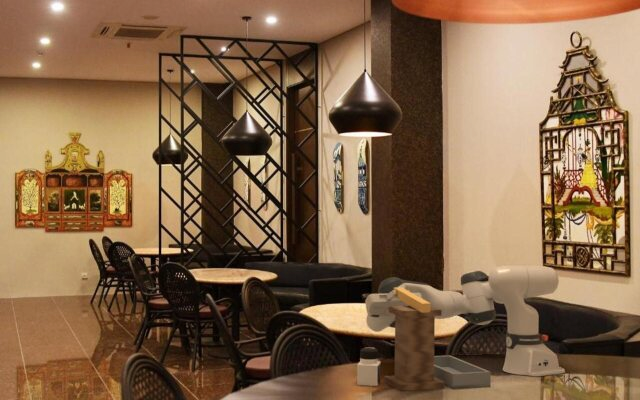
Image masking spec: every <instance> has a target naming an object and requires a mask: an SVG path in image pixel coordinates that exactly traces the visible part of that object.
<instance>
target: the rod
mask: <svg viewBox="0 0 640 400" xmlns="http://www.w3.org/2000/svg"><path fill="white" fill-rule="evenodd" d="M394 290H397V291H398V292H397V293H398V295H397V297H396V298H398V299H400V300H401V301H403V302H405V303H406V304H408V305H410V306H411V307H413V308H415V309H416V310H418V311H420V312H422V313H425V312H430V306H431V303H429V302H427V301H425V300H424V299H422V298H420V297H418V296H416V295H415V294H413V293H411V292H409V291H407V290H406V289H404V288H402V287H395V288H394Z"/></svg>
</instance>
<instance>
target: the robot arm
mask: <svg viewBox="0 0 640 400" xmlns="http://www.w3.org/2000/svg"><path fill="white" fill-rule="evenodd" d="M559 281H560V279H559V276H558V273H557V272H556V270H555V269H554V267H549V266H544V265H525V264H524V265H523V264H522V265H519V264H518V265H517V264H516V265H515V264H514V265H512V264H511V265H510V264H509V265H500V266H495V267H493V268H492V269H491V271H490V272H489V275H488V274H486V272H484V271H482V270H475V269H474V270H469V271H467V272H465V273H463V274H462V275H461V277H460V285H461V290H462V293H461V292H458V291H455V290H440V289H437V288H434V287H432V286H431V285H430V284H428V283H426V282H421V281H413V280H406V279H401V278H399V277H394V276H393V277H392V276H391V277H387V278H385V279H384V280H382V281H381V282H380V283H379V286H378V290H377V292H378V293H371V294H369V295H367V297H366V299H365V309H366V310H365V311H366V313H367V315H366V319H365V320H366V325H367V326H368V328H369V329H370V330H371V331H372V332H375V333H379V332H382V331H383V330H385V329H387V328H392V329H395V314H392V313H389V306H410V305H408V304H406V303H405V302H403V301H401V300H400V299H398V298H396V297H397V295H398V293H397V292H398V291H397V290H394V288H395V287H402V288H404V289H406V290H407V291H409V292H411V293H413V294H415V295H416V296H418V297H420V298H422V299H424V300H425V301H427V302H429V303H431V306H430V307H434V308H437V309H441V310H442V312H441V316H435V320H445V319H450V318H454V317H456V316H460V315H462V314H464V315H465V316H464V319H465V320H466V319H467V320H468V321H469V322H470V323H472V324H474V325H478V326H480V325H481V326H485V325H488V324H490V323H491V322H493V321H494V320H495V319H496V309H495V307H494V306H495V305H494V302H495V303H497V304H502V305H504V307H505V310H506V317H507V318H506V322H507V331H506V334H505V337H506V338H505V342H506V343H505V345H506V353H505V358H504V364H503V366H502V367H503V368H502V371H503V372H506V373H509V374H513V375H519V376H520V375H521V376H529V377H544V376H550V375H558V374H559V375H560V374H565V373H566V370H565V368H563V367H561V366H560V364H559V359H558V356H557V354H556V353H555V352H553V350H551V349H550V348H549V347H548V346H546V345H545V344H544V343H543V341H546V342H547V341H548V339H549V336H548V334H547V335H546V334H541V333H539V317H540V316H539V312H538V311H537V309H536V308H534V307H533V306H531V305H530V304H527V303H525V300H524V299H529V298H530V299H531V298H534V297H539V296H545V295H546V296H547V295H550V294H553V293H555V291H556V290H557V289H558V287H559Z"/></svg>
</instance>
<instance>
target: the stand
mask: <svg viewBox="0 0 640 400" xmlns="http://www.w3.org/2000/svg"><path fill="white" fill-rule="evenodd" d="M441 312H442V310H441V309H437V308H434V307H430V312H425V313H422V312H420V311H418V310H416V309H415V308H413V307H411V306H389V313H392V314H395V328H394V375H384V377H383V378H384V379H383V382H384V383H385V382H386V383H385V384H387V385H389V386H391V387H392V386H393V387H392V388H394V387H395V388H394V389H396V388H397V389H396V390H398V391H399V390H400V391H399V392H407V391H408V392H409V391H422V390H423V391H424V390H438V389H440V390H441V389H446V388H445V387H446V386H445V382H443V381H441V380H439V379H437V378H435V377H434V356H435V325H436V324H435V320H436V319H435V316H441Z"/></svg>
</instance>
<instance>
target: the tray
mask: <svg viewBox="0 0 640 400" xmlns="http://www.w3.org/2000/svg"><path fill="white" fill-rule="evenodd" d="M491 374H492V372H491V371H489V370H487V369H485V368H482V367H480V366H477V365H474V364H473V363H469V362H468V361H465V360H463V359H460V358H457V357H455V356H453V355H434V377H435V378H437V379H439V380H441V381H443V382H445V387H448V388H449V389H452V390H461V389H474V388H475V389H476V388H490V387H491V385H492V384H491V382H492V381H491V378H492V376H491Z"/></svg>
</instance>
